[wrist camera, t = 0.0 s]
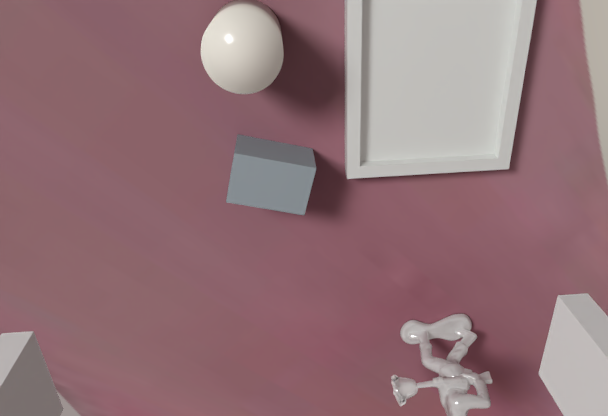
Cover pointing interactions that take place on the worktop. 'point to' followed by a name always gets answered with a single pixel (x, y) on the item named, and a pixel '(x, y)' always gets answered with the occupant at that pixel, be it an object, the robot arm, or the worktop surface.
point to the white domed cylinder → (243, 47)
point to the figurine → (445, 366)
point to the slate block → (271, 175)
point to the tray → (433, 84)
